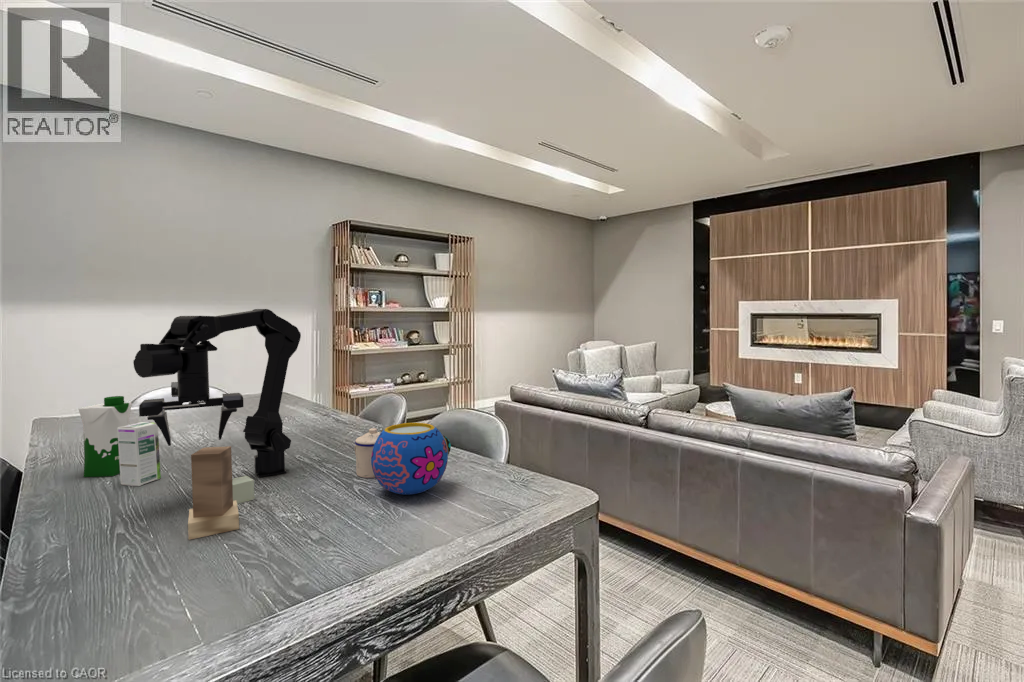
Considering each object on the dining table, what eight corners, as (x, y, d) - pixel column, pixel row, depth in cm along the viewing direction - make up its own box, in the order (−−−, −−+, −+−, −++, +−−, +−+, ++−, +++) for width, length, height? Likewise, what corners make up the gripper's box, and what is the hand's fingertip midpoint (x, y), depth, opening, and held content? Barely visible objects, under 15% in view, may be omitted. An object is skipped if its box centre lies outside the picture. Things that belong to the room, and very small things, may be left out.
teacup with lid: (398, 471, 124) (398, 427, 123) (370, 481, 116) (369, 434, 116) (370, 463, 131) (369, 422, 130) (341, 472, 123) (340, 428, 123)
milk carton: (114, 477, 120) (110, 399, 119) (76, 478, 119) (72, 400, 118) (138, 466, 128) (135, 394, 127) (103, 467, 128) (100, 394, 127)
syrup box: (139, 486, 113) (136, 427, 112) (119, 485, 114) (116, 426, 113) (161, 478, 119) (159, 422, 118) (142, 477, 120) (139, 421, 119)
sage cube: (247, 494, 108) (246, 475, 108) (254, 499, 105) (253, 479, 105) (225, 500, 104) (224, 480, 104) (232, 505, 101) (231, 485, 101)
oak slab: (236, 514, 97) (236, 500, 96) (239, 528, 90) (238, 513, 90) (189, 523, 92) (189, 508, 92) (188, 539, 86) (188, 523, 85)
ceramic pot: (462, 483, 114) (462, 423, 114) (418, 511, 98) (417, 440, 97) (404, 474, 122) (403, 417, 121) (355, 497, 105) (353, 432, 105)
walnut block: (205, 507, 93) (203, 447, 92) (233, 505, 94) (231, 446, 93) (193, 517, 88) (191, 454, 87) (222, 515, 89) (220, 453, 88)
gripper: (239, 367, 115) (241, 429, 116) (143, 371, 105) (146, 440, 105) (242, 371, 106) (244, 439, 106) (137, 376, 95) (140, 452, 96)
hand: (195, 442), depth 104 cm, fingers open, 9 cm apart
